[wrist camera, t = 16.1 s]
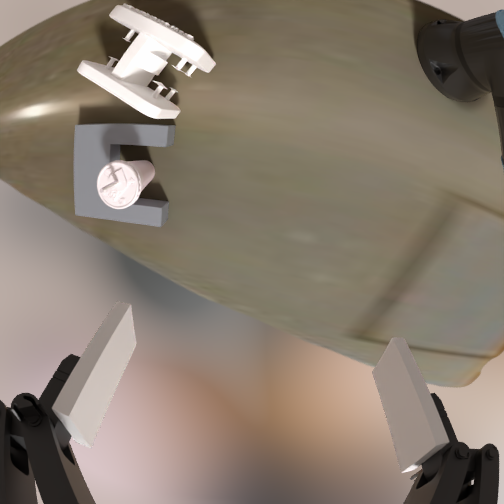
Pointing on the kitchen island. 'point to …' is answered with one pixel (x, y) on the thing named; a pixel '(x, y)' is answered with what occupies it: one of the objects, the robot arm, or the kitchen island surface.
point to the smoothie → (123, 182)
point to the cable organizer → (146, 62)
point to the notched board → (108, 150)
